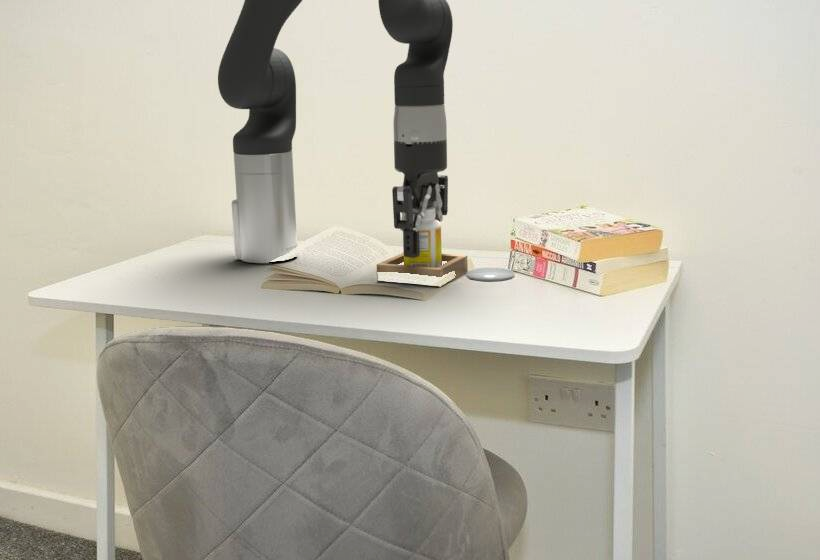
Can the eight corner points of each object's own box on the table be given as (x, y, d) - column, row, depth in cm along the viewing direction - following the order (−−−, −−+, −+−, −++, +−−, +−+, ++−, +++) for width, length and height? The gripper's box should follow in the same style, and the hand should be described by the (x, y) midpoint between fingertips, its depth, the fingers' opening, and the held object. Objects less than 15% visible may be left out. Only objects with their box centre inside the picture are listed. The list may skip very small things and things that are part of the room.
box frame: (377, 281, 138) (376, 264, 137) (407, 266, 147) (406, 251, 146) (440, 287, 134) (440, 269, 133) (467, 272, 142) (467, 255, 142)
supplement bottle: (430, 270, 144) (429, 203, 142) (448, 278, 139) (447, 208, 137) (397, 275, 141) (395, 207, 139) (415, 283, 137) (413, 212, 134)
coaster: (458, 278, 138) (458, 276, 138) (476, 268, 144) (476, 266, 144) (504, 282, 135) (504, 280, 135) (520, 272, 141) (520, 269, 141)
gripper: (417, 132, 143) (420, 241, 147) (373, 141, 131) (376, 259, 135) (464, 133, 140) (465, 244, 144) (422, 142, 128) (425, 263, 131)
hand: (422, 251), depth 139 cm, fingers open, 7 cm apart
